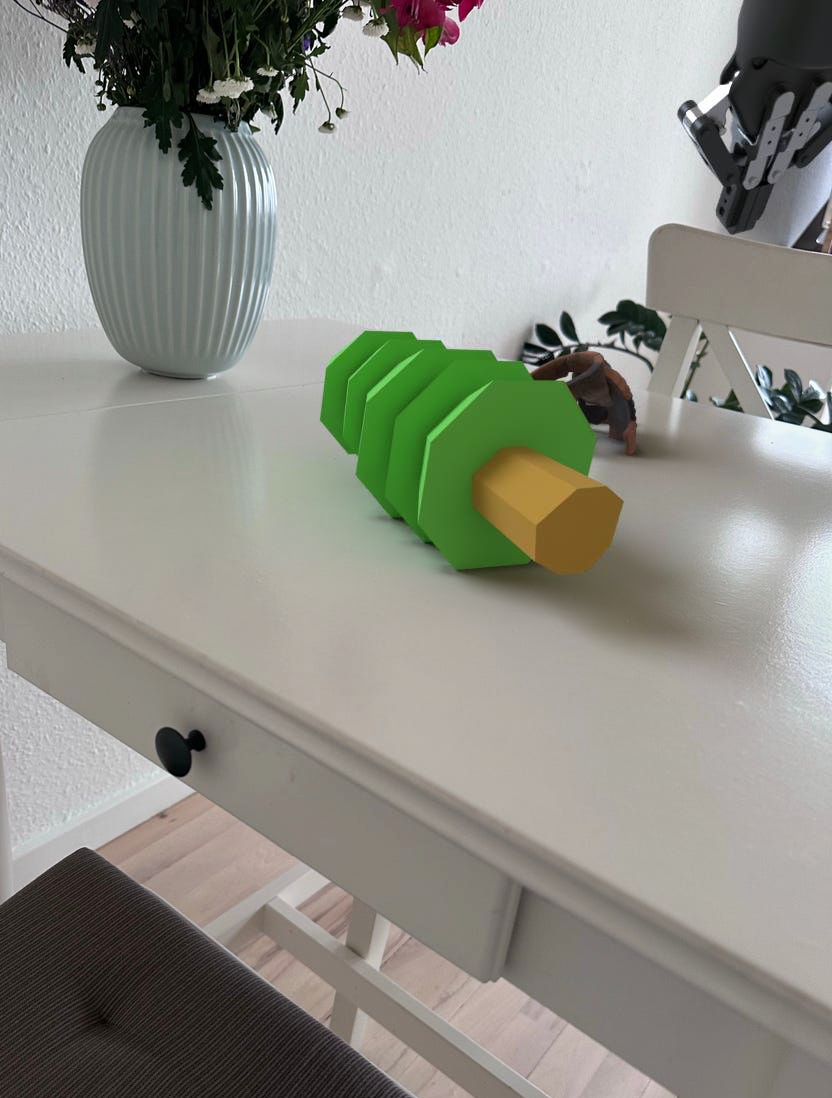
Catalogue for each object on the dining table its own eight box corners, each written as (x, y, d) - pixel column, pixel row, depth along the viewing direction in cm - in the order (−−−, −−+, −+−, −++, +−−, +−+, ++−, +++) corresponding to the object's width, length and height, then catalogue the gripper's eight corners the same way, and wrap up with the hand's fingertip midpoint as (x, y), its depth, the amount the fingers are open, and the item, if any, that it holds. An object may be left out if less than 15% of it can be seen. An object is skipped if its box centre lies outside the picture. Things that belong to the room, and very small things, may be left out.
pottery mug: (637, 475, 75) (607, 378, 71) (523, 499, 80) (489, 409, 76) (658, 407, 83) (632, 317, 79) (555, 432, 88) (525, 349, 84)
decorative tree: (569, 374, 40) (303, 247, 63) (436, 605, 44) (229, 405, 67) (722, 465, 47) (430, 320, 70) (596, 661, 50) (357, 461, 73)
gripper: (757, 6, 48) (671, 284, 64) (987, -48, 50) (850, 236, 65) (687, -66, 52) (622, 214, 67) (904, -113, 54) (792, 170, 69)
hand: (735, 224), depth 66 cm, fingers closed
